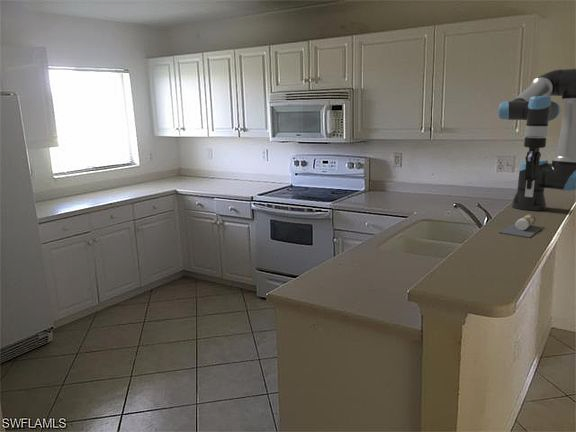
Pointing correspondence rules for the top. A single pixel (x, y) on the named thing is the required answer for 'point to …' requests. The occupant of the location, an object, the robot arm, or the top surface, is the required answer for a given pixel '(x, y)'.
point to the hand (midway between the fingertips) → (528, 196)
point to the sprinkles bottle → (525, 222)
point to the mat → (525, 233)
